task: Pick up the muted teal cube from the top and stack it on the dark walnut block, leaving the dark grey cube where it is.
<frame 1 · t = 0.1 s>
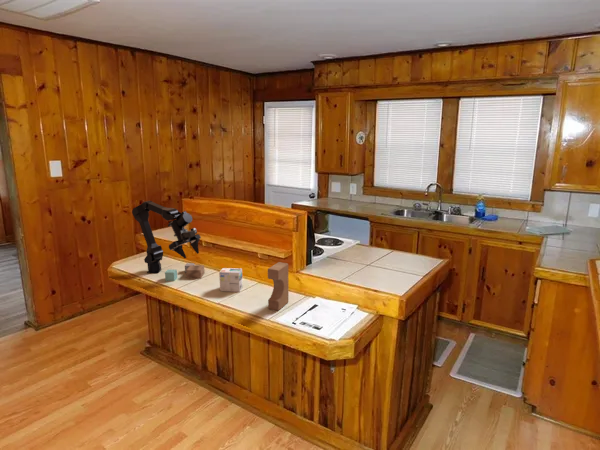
hand: (192, 255, 217), 15 cm above the table, tool tilted 30°, fingers open, 9 cm apart
light bulb box: (231, 289, 210), on the table
teal cube: (171, 279, 224), on the table
decorative block: (278, 305, 192), on the table
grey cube: (190, 271, 235), on the table
walnut block: (195, 276, 229), on the table
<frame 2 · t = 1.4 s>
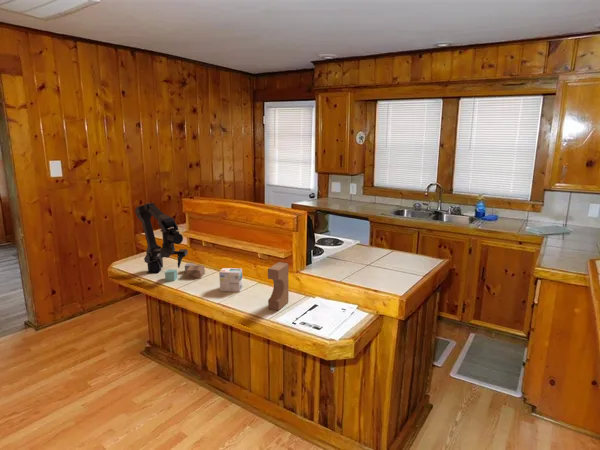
hand: (170, 267, 222), 7 cm above the table, tool pointing down, fingers open, 9 cm apart
nothing on the table moved.
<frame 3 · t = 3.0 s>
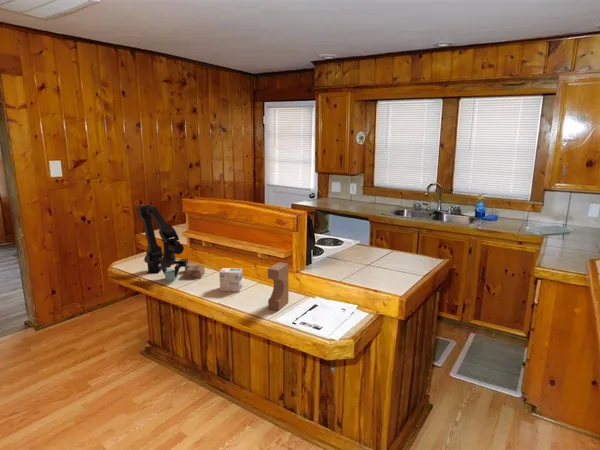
hand: (171, 277, 223), 1 cm above the table, tool pointing down, fingers closed on teal cube, 5 cm apart
teal cube: (171, 279, 224), on the table, touching gripper
everything else where it was.
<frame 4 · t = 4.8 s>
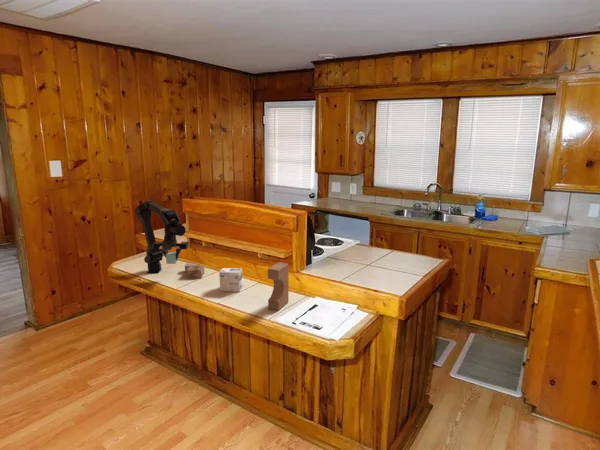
hand: (172, 260, 221), 11 cm above the table, tool pointing down, fingers closed on teal cube, 5 cm apart
teal cube: (172, 262, 222), point 10 cm above the table, touching gripper
everything else where it was.
when the fingers open (8 cm above the table, at t = 7.0 s): teal cube drops 2 cm, resting on walnut block.
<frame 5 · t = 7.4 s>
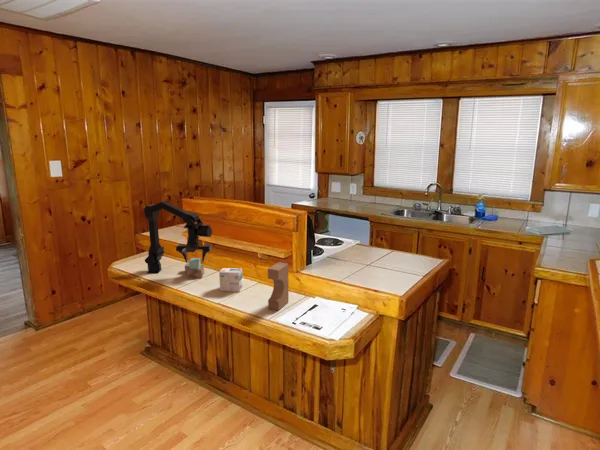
hand: (194, 262, 227), 8 cm above the table, tool pointing down, fingers open, 9 cm apart
teal cube: (195, 267, 228), point 5 cm above the table, touching walnut block
walnut block: (195, 276, 229), on the table, touching teal cube
everything else where it was.
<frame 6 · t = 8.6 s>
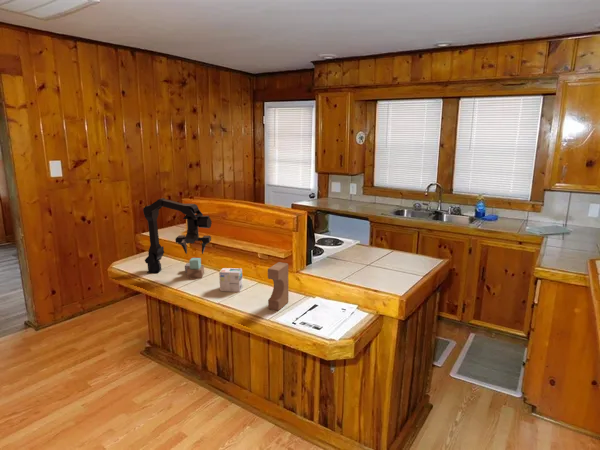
hand: (194, 253, 226), 13 cm above the table, tool pointing down, fingers open, 9 cm apart
teal cube: (195, 267, 228), point 5 cm above the table
walnut block: (196, 276, 229), on the table
everything else where it was.
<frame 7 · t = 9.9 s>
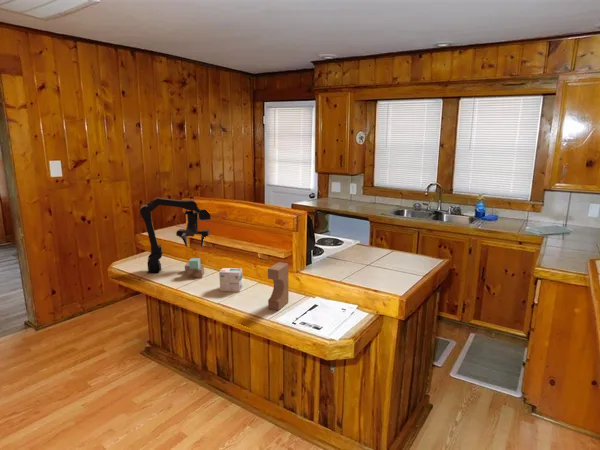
hand: (194, 246, 240), 13 cm above the table, tool pointing down, fingers open, 9 cm apart
nothing on the table moved.
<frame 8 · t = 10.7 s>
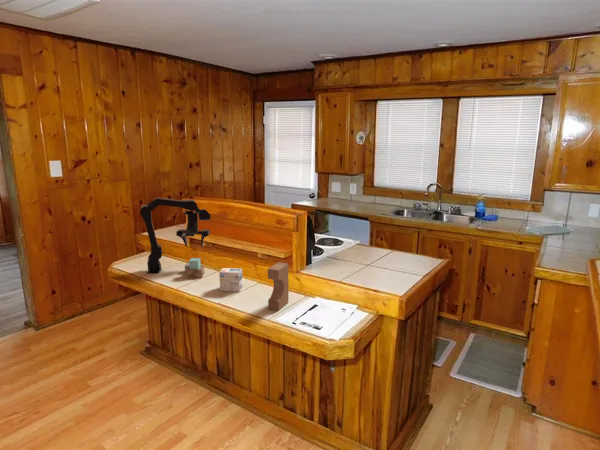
hand: (194, 246, 240), 13 cm above the table, tool pointing down, fingers open, 9 cm apart
teal cube: (195, 267, 228), point 5 cm above the table, touching walnut block
walnut block: (196, 276, 229), on the table, touching teal cube
everything else where it was.
at the end: teal cube 0.4 cm off-centre on the walnut block, point 5.0 cm above the walnut block's base; teal cube tilted 0°; the gripper is holding nothing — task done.
